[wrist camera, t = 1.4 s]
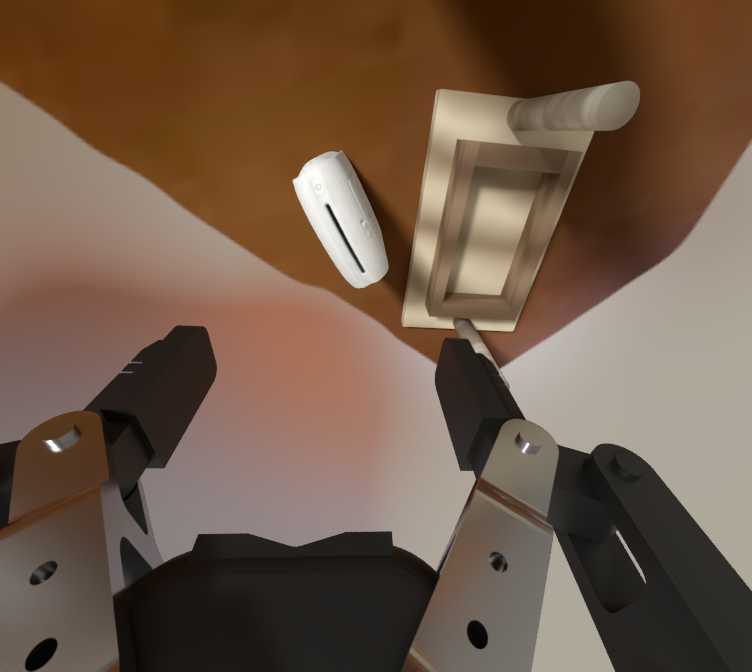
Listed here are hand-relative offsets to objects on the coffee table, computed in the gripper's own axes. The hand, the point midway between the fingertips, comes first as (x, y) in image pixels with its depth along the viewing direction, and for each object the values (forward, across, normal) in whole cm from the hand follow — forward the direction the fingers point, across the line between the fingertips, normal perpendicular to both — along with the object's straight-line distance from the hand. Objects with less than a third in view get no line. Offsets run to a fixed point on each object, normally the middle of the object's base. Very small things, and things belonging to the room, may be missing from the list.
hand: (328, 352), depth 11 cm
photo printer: (+26, 0, 0) cm, 26 cm away
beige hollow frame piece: (+26, -15, +2) cm, 30 cm away
